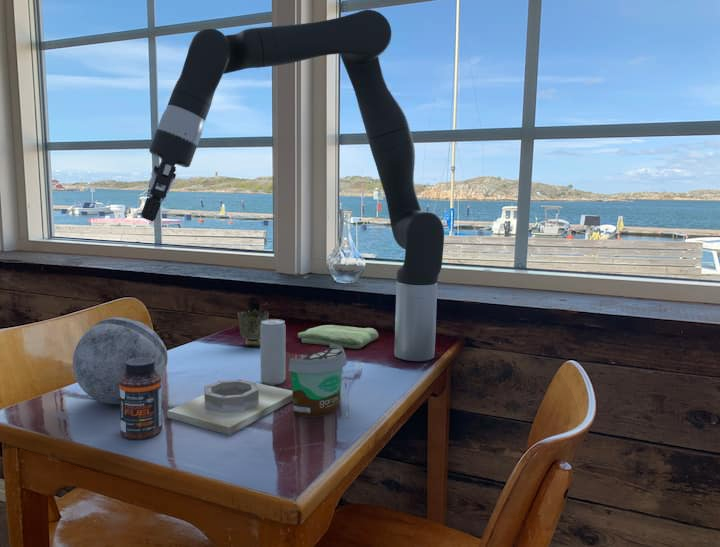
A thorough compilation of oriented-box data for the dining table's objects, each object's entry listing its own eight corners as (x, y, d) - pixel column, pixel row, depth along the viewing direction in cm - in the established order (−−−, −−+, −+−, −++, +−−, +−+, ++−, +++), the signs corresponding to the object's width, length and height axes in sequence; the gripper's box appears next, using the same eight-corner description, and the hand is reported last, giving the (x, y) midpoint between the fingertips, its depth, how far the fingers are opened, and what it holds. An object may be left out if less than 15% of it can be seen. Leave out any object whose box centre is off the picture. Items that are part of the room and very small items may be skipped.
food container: (318, 426, 88) (319, 365, 87) (288, 417, 92) (288, 358, 90) (359, 402, 99) (360, 348, 97) (331, 395, 102) (331, 342, 100)
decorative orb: (182, 391, 102) (180, 311, 100) (135, 422, 88) (132, 330, 86) (110, 384, 105) (107, 306, 103) (54, 413, 91) (49, 324, 89)
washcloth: (319, 332, 150) (319, 320, 150) (380, 340, 143) (380, 328, 143) (294, 343, 138) (295, 330, 138) (360, 352, 132) (360, 339, 131)
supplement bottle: (120, 443, 81) (117, 368, 79) (120, 427, 86) (117, 357, 85) (164, 437, 83) (162, 364, 82) (161, 422, 89) (159, 353, 87)
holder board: (240, 385, 106) (240, 366, 106) (296, 398, 100) (296, 378, 100) (167, 417, 90) (167, 395, 90) (229, 435, 84) (229, 411, 84)
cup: (275, 344, 136) (275, 312, 135) (254, 350, 130) (254, 317, 128) (252, 339, 140) (252, 308, 139) (231, 345, 133) (230, 313, 132)
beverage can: (280, 386, 106) (280, 325, 104) (256, 384, 107) (256, 323, 105) (288, 378, 111) (289, 319, 109) (265, 376, 112) (265, 318, 110)
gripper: (202, 141, 97) (169, 228, 97) (193, 147, 110) (165, 223, 110) (159, 123, 94) (125, 212, 94) (155, 131, 107) (126, 210, 107)
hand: (147, 218), depth 102 cm, fingers open, 8 cm apart
